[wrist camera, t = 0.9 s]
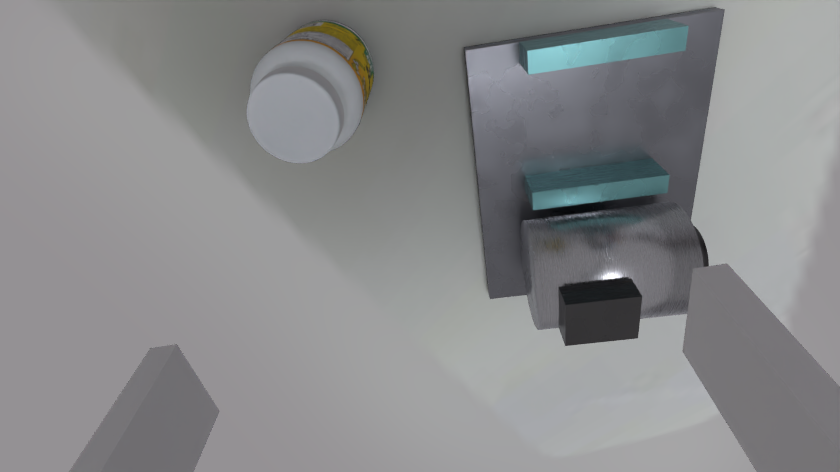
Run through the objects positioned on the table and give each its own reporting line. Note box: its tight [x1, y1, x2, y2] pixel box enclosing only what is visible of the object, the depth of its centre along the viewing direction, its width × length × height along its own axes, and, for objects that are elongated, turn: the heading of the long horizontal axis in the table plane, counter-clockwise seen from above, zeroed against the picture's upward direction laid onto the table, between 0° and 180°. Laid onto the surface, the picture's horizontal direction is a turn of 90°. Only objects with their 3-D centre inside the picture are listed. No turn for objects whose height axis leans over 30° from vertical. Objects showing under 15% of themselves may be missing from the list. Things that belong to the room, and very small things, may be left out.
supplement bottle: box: [246, 20, 374, 163], centre depth 25 cm, size 5×5×10 cm
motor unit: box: [464, 7, 724, 346], centre depth 28 cm, size 18×14×10 cm
